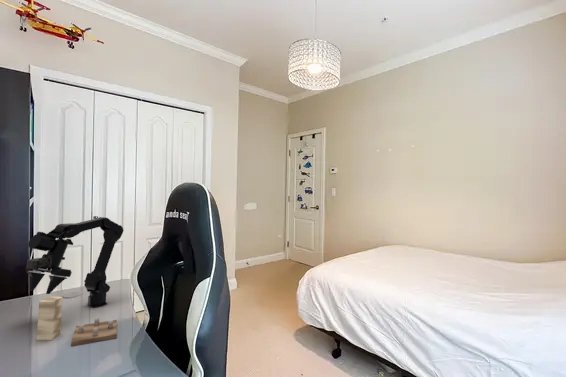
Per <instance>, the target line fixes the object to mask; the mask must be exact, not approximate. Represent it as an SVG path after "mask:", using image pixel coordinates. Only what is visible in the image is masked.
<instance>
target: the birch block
mask: <svg viewBox="0 0 566 377" xmlns="http://www.w3.org/2000/svg"><path fill="white" fill-rule="evenodd" d="M63 299H64V298H63V296H47V297H45V298H43V299H41V300H39V301H38V309H37V310H38V313H37V327H36V328H37V329H36V330H37V331H36V341H52V340H54V339H55V338H56V337H58V336H60V335H61V328H62V316H63V315H62V314H63V312H62V311H63Z"/></svg>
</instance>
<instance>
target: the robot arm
mask: <svg viewBox="0 0 566 377" xmlns="http://www.w3.org/2000/svg"><path fill="white" fill-rule="evenodd" d="M96 228H97V229H98V228H100V230H101V231H103V234H102V236H103V239H104V240H103V244H102V247H101V250H100V253H99V256H98V257H97V260H96V263H95V266H94V269H93V270H92V271H91V272H88V273H87V274H86V276H85V279H84V281H83V282H84V284H83V285H84V287H85V288H86V291H87V293H89V295H88V299H87V305H88V306H90V307H91V308H97V307H101V306H105V305H108V302H107V293H108V292H109V291H110V289H111V286H110V285H109V284H108V283H107V275H106V270H107V267H108V264H109V262H110V259H111V256H112V253H113V250H114V247H115V246H116V243H117V242H118V241H119V240H120V239H121V237H122V236H123V235H124V234H123V233H124V228H123V226H122V225H121V224H120V225H119V224H118V223H116V222H114V221H112V220H111V219H110V218H108V217H104V216H103V217H102V216H100V217H97V218H93V219H88V220H85V221H80V222H75V223H59V224H57V225H56V226H55V228H53V229H51V231H49V232H47V233H46V232H44V231H37V232H36V234H34V235H33V236H32V237H31V238H30V239H29V241H28V243H27V244H28V248H29V249H32V250H37V251H42V252H47V253H44V254H42V255H41V256H42V257H36V258H31V259H27V260H26V266H25V269H24V270H25V272H26V273H27V274H28V275H29V277H30V282H29V283H30V284H29V291H30V292H33V291H34V290H35V289H36V288H37V287H38V285H39V284H40V282H41V281H42V280H43V278H44V276H45V275H46V273H50V275H49V274H48V278H49V283H48V285H47V289H46V295H49V294H51V293H52V292H53V291H54V290H55V289H56V288H57V287H58V286H59V285H60V284H61V283H63V281H65V280H66V279H68V278H71V275H72V269H66V268H62V267H60V265H61V263H62V261H65V259H66V257H64V255H65V253H66V250H67V248H68V245H69V246H73V245H74V242H73V241H72V238H74V237H76V236H78V235H79V234H81V233H83V232H85V231H89V230H93V229H96Z"/></svg>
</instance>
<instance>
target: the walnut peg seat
mask: <svg viewBox="0 0 566 377" xmlns="http://www.w3.org/2000/svg"><path fill="white" fill-rule="evenodd" d="M117 326H118V320H117V319H113V320H106V321H100V317H96V318H94V322H93V323H86V324H80V325H75V329H74V333H73V335H72V338H71V340H70V346H71V347H74V346H75V347H76V346H80V345H81V346H82V345H86V344H91V343H97V342H103V341H109V340H114V339H117V335H118V334H117V332H118V327H117Z"/></svg>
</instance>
